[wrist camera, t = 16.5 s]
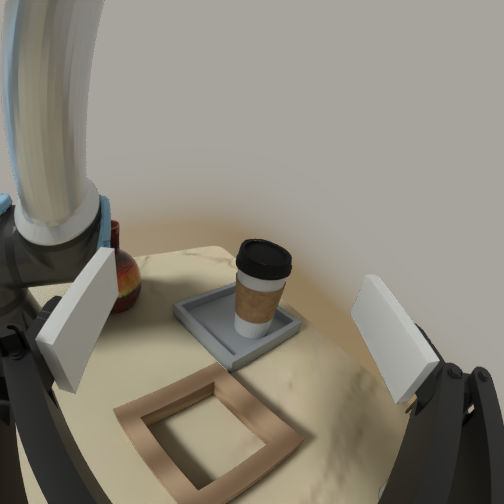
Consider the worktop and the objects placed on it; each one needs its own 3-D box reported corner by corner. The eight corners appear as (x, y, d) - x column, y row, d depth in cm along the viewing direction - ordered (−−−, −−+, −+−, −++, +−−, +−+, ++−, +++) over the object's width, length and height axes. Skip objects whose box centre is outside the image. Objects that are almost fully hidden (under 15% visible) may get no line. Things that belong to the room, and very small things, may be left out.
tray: (173, 314, 48) (173, 303, 47) (239, 289, 59) (241, 279, 58) (230, 373, 38) (232, 362, 37) (298, 332, 49) (301, 321, 48)
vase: (151, 291, 53) (149, 217, 46) (128, 325, 43) (119, 243, 36) (105, 279, 53) (99, 210, 47) (77, 309, 43) (63, 232, 37)
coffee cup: (247, 306, 53) (260, 233, 46) (284, 328, 48) (305, 253, 42) (216, 325, 46) (225, 245, 40) (255, 352, 42) (273, 270, 36)
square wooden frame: (117, 420, 27) (112, 409, 26) (215, 374, 38) (217, 361, 36) (195, 521, 17) (194, 519, 16) (297, 448, 28) (304, 438, 27)
